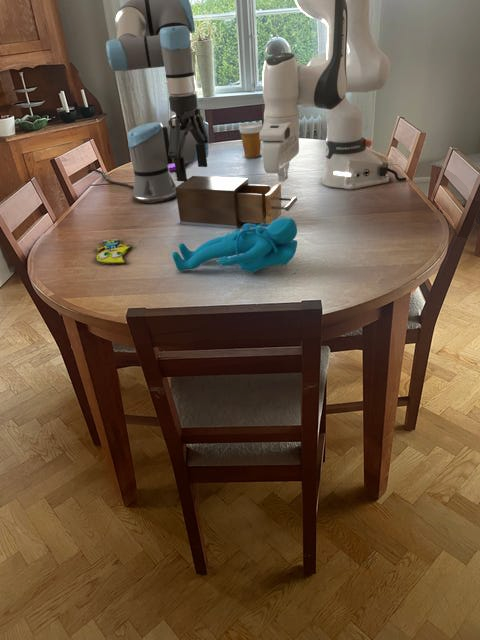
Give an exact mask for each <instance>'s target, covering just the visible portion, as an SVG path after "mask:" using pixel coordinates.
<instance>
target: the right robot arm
mask: <svg viewBox="0 0 480 640" xmlns="http://www.w3.org/2000/svg"><path fill="white" fill-rule="evenodd" d="M294 1H295V4H296V6H297V7H298V8H299V10H300V11H301V12H302V13H303V14H305V15H306V16H307V17H309V18H310V19H314V20H316V21H319V22H321V23H322V24H325V25H326V27H327V40H326V53H323V54H320V55H319V54H318V55H316V56H313V57H312V58H311V59H310V60H309V61H308V63H307V65H304V64H300V63H298V62H297V59H296V55H295V54H294V53H291V52H279V53H276V54H272V55H270V56H268V57H267V58H266V59H265V60H264V62H263V68H262V69H263V70H262V98H263V102H264V111H263V124H262V126H261V127H262V129H261V131H260V134H259V137H260V141H261V156H262V166H263V170H264V172H265V173H267V174H277V178H278V182H279V183H284V182H285V181H287V179H289V169H290V162H292V160H293V159H294V158H295V157H296V156H297V155H298V154H299V151H300V139H299V133H300V111H299V107H300V108H317V109H323V110H324V111H325V115H326V116H325V117H326V131H327V132H326V139H325V145H324V154H325V155H324V156H325V164H324V170H323V175H322V178H321V183H322V185H324V186H327V187H330V188H338V189H339V188H341V189H346V190H356V189H361V188H366V187H371V186H376V185H380V184H385V183H389V182H390V176H389V175H388V172H389V173H391V174H393V175H394V178H395V180H396V181H398V182H403V181H404V182H405V181H407V177H399V175H398V173H397V172H396V171H395V170H394V169H391V168H389V162H382V161H381V159H380V158H379V157H377V156H376V155H375V154H373V152H371V151H370V150H368V148H370V147H371V146H373V141H372V140H371V139H368V138H367V139H366V138H364V137H362V134H363V118H364V116H363V113H362V110H361V109H360V108H359V107H358V106H357V105H355V104H353V103H351V102H350V101H349V100H348V98H347V96H346V95H347V93H369V92H375V91H378V90H381V89H382V88H384V86H385V85H386V84H387V83H388V81H389V78H390V75H391V62H390V60H389V57H388V56H387V55H386V54H385V53H384V52H383V51H382V50H380V48H379V47H378V46H377V44H376V43H375V41H374V39H373V36H372V33H371V28H370V27H371V26H370V0H294ZM347 49H348V51H347Z"/></svg>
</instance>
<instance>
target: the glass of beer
mask: <svg viewBox="0 0 480 640" xmlns="http://www.w3.org/2000/svg"><path fill="white" fill-rule="evenodd" d="M262 127H263V126H262V124H261V123H245V124H241V125H240V126H239V133H240V137H241V142H242V147H243V152H244V157H245V158H248V159H249V158H251V159H252V158H253V159H254V158H258V157H260V156H261V147H262V141H260V137H259V134H260V131H261V129H262Z"/></svg>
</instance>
